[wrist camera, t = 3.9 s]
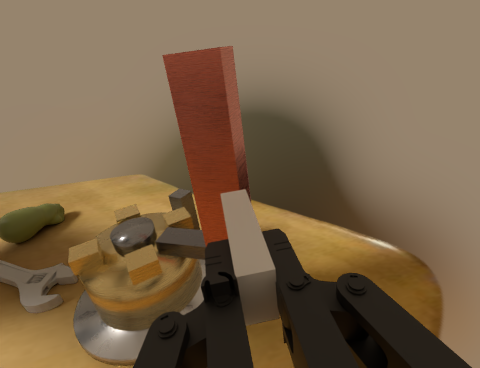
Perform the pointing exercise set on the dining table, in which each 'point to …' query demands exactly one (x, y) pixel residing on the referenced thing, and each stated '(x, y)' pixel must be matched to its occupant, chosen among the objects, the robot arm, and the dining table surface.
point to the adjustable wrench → (37, 284)
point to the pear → (29, 221)
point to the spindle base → (86, 316)
